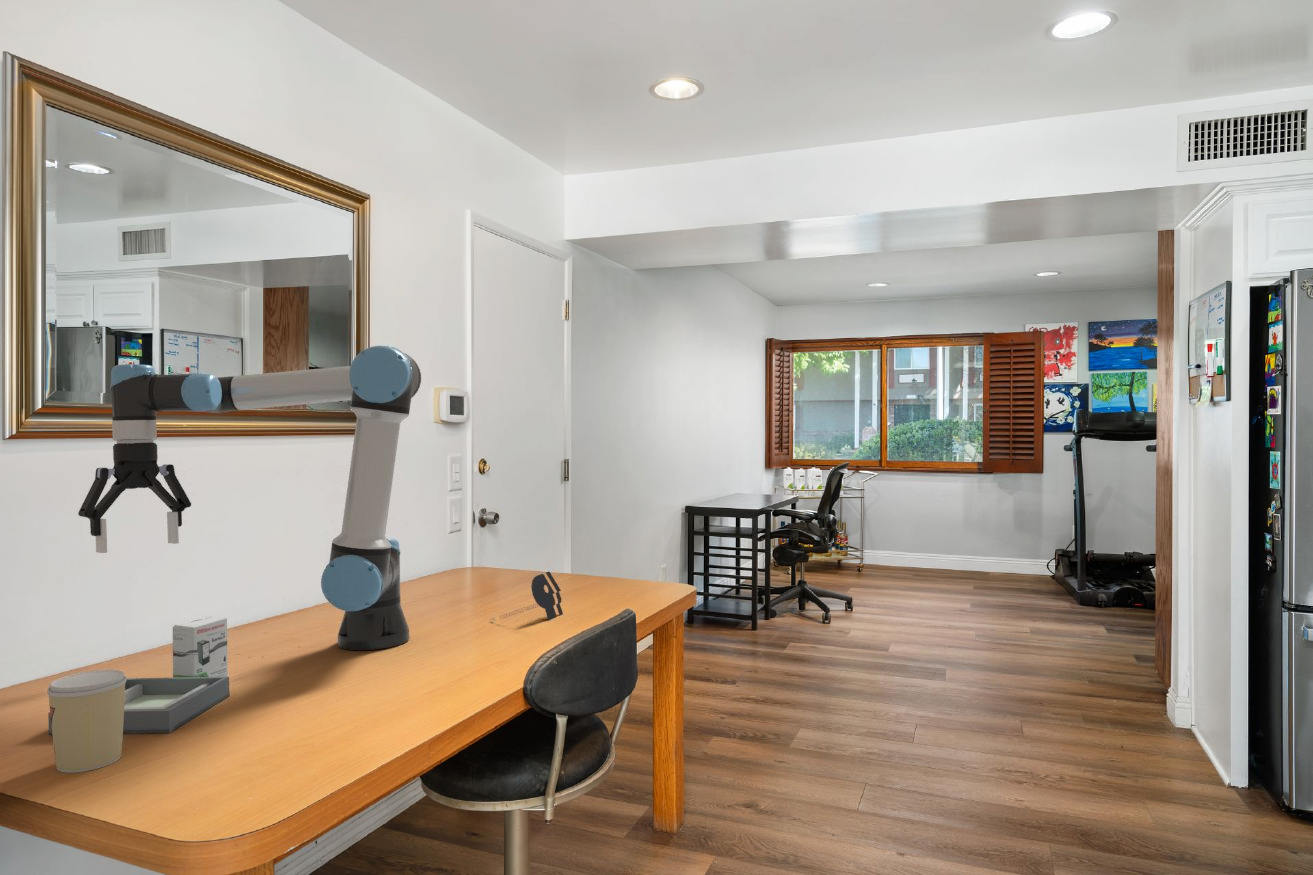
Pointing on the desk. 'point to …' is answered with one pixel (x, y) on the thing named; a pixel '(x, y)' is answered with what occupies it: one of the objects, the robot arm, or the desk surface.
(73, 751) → the coffee cup
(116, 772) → the desk surface
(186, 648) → the ink box
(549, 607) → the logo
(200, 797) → the desk surface
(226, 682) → the walled tray
